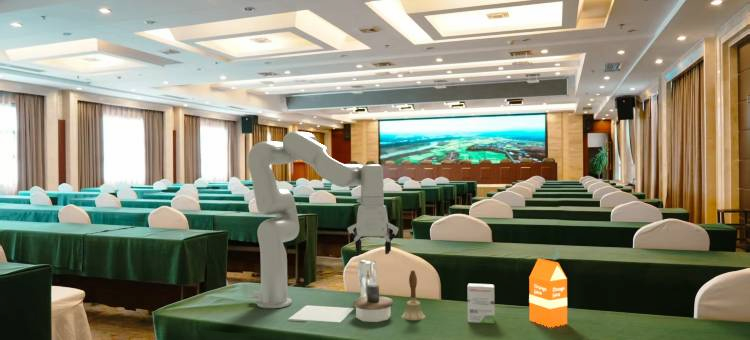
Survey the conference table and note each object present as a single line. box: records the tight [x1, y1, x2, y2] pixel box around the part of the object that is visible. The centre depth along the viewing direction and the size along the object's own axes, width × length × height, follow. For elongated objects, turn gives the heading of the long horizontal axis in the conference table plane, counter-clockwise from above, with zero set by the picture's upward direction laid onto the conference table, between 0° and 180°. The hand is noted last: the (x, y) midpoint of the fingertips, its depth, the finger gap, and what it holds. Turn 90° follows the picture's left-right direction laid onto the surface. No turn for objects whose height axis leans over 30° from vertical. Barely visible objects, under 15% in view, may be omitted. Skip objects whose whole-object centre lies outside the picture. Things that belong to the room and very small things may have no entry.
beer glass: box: [357, 259, 378, 298], centre depth 192 cm, size 7×7×15 cm
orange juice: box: [528, 257, 568, 329], centre depth 166 cm, size 8×9×20 cm
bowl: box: [355, 306, 392, 323], centre depth 172 cm, size 11×11×5 cm
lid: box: [353, 284, 394, 310], centre depth 171 cm, size 13×13×6 cm
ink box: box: [466, 282, 496, 324], centre depth 168 cm, size 9×5×12 cm, turn 77°
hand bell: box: [401, 270, 426, 321], centre depth 171 cm, size 8×8×16 cm
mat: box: [287, 304, 355, 323], centre depth 176 cm, size 18×16×1 cm
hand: (373, 253), depth 171 cm, fingers open, 9 cm apart
